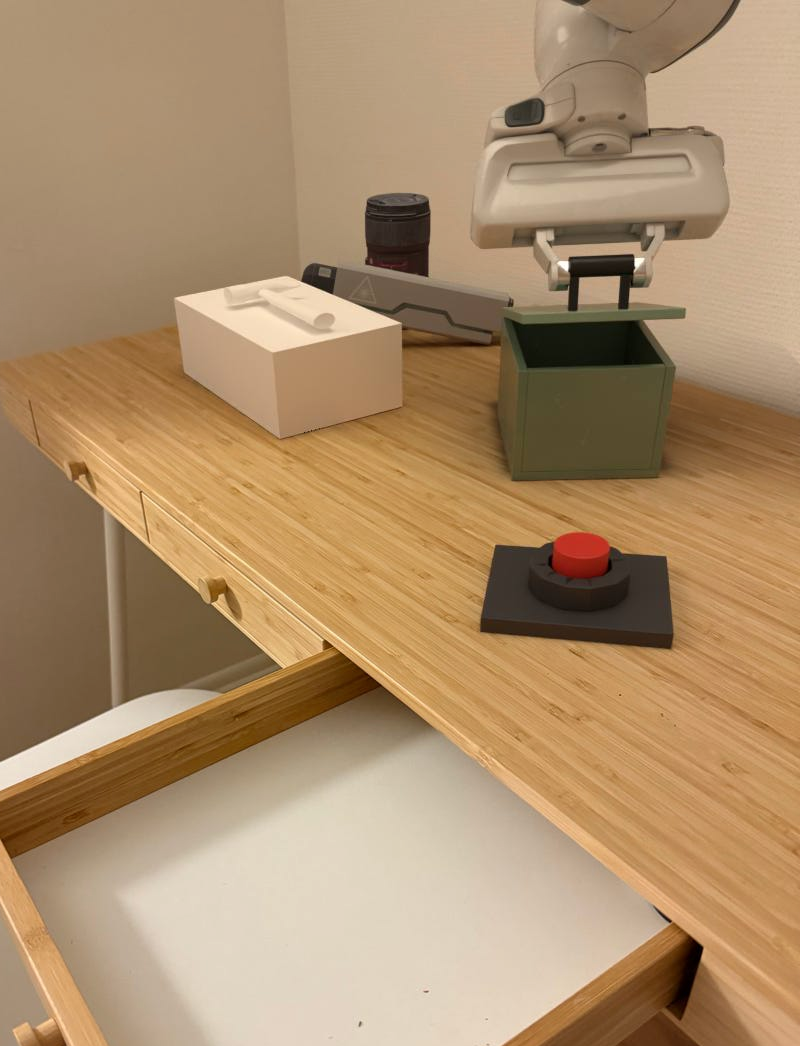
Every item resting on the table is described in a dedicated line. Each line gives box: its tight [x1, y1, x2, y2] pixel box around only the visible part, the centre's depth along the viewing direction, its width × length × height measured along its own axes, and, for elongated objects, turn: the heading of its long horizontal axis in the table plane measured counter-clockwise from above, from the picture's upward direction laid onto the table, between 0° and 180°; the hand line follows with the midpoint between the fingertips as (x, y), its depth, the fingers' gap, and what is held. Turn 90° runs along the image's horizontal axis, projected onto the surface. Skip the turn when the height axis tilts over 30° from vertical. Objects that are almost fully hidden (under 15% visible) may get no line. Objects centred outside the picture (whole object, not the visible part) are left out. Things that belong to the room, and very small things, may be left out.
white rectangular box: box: [173, 275, 403, 440], centre depth 103 cm, size 14×25×11 cm, turn 29°
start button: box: [552, 531, 611, 579], centre depth 64 cm, size 4×4×2 cm
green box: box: [496, 317, 677, 482], centre depth 87 cm, size 16×13×10 cm
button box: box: [479, 541, 675, 650], centre depth 65 cm, size 12×10×4 cm
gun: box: [300, 259, 515, 346], centre depth 115 cm, size 2×25×10 cm, turn 85°
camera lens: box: [364, 192, 432, 330], centre depth 120 cm, size 8×8×15 cm
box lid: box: [502, 253, 687, 324], centre depth 82 cm, size 16×13×5 cm
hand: (599, 285), depth 76 cm, fingers closed on box lid, 5 cm apart
